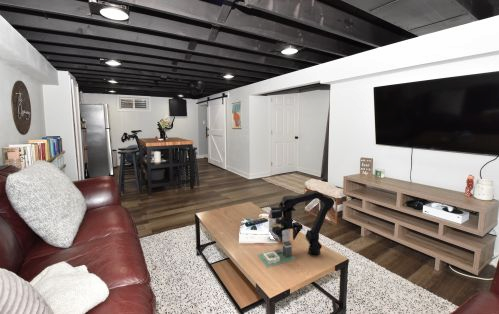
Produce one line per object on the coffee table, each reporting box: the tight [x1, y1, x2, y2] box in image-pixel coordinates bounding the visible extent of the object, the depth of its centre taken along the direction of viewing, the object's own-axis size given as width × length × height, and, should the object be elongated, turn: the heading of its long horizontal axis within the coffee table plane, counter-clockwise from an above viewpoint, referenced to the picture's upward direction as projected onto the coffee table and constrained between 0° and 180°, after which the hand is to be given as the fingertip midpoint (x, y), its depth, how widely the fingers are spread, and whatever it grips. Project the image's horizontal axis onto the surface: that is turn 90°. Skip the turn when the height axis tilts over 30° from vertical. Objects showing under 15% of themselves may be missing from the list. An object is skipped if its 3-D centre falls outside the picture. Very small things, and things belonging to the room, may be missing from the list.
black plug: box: [282, 241, 293, 258], centre depth 148 cm, size 4×4×8 cm
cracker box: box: [268, 211, 291, 244], centre depth 166 cm, size 14×6×21 cm, turn 51°
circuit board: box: [257, 247, 297, 268], centre depth 146 cm, size 20×14×4 cm
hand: (287, 241), depth 147 cm, fingers open, 9 cm apart
